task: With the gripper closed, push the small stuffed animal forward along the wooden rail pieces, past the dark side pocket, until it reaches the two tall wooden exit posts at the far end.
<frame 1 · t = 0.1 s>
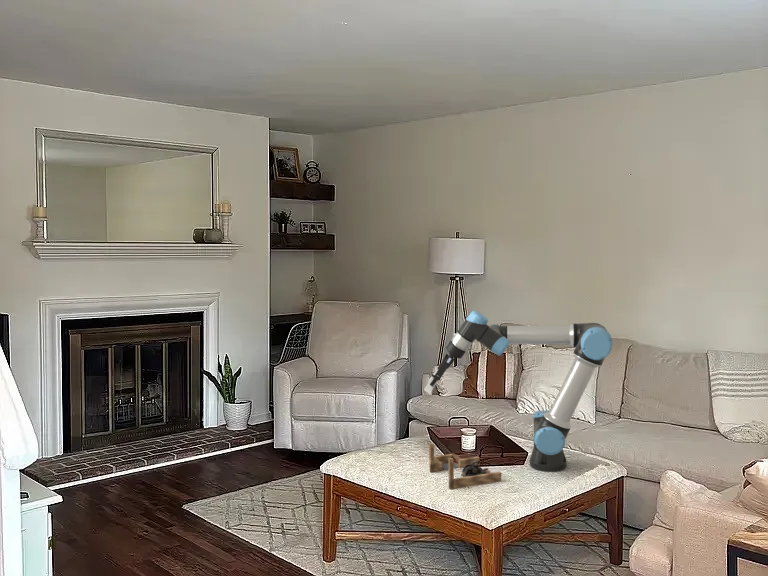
hand: (428, 387, 313), 36 cm above the table, tool tilted 35°, fingers open, 13 cm apart
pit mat: (447, 466, 324), resting in wooden rail pieces
wooden rail pieces: (464, 476, 312), on the table
stuffed animal: (476, 476, 314), on the table
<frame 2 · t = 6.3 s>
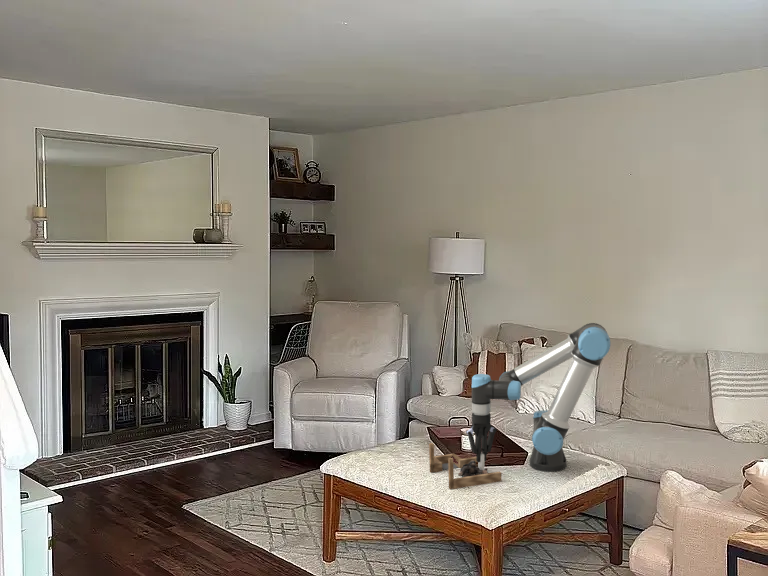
hand: (481, 469, 314), 2 cm above the table, tool pointing down, fingers closed
stuffed animal: (473, 476, 314), on the table
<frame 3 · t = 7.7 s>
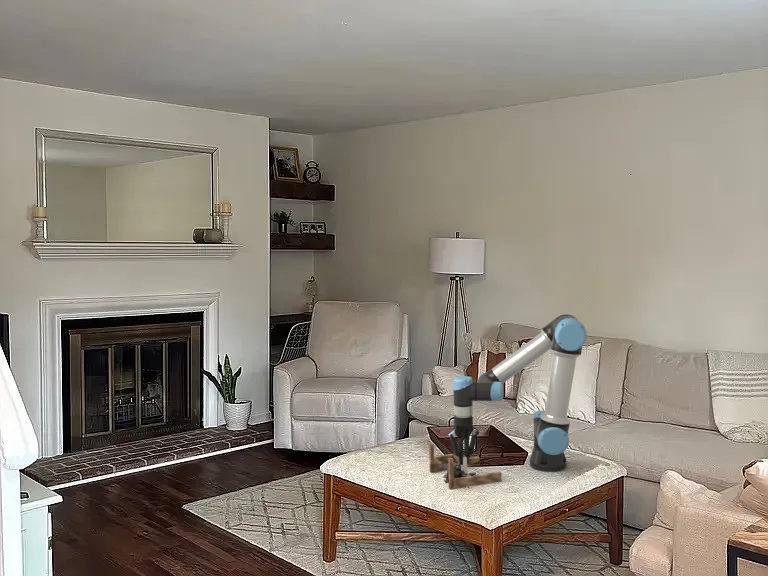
hand: (463, 472, 312), 2 cm above the table, tool pointing down, fingers closed
stuffed animal: (458, 479, 310), on the table
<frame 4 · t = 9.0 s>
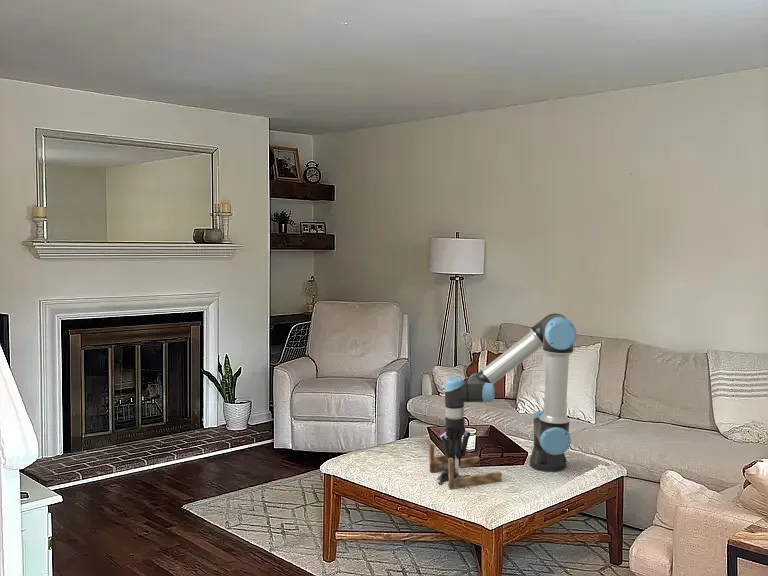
hand: (455, 473, 310), 2 cm above the table, tool pointing down, fingers closed
stuffed animal: (452, 481, 308), on the table
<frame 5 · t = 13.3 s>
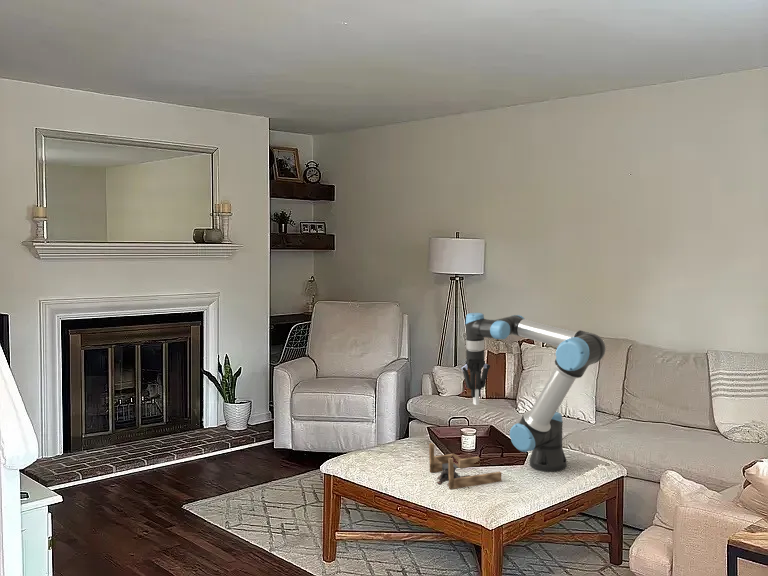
hand: (476, 404, 328), 24 cm above the table, tool pointing down, fingers closed
nothing on the table moved.
at the end: stuffed animal inside the target area (4.1 cm from its centre), on the table; stuffed animal moved 11.2 cm from its start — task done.
